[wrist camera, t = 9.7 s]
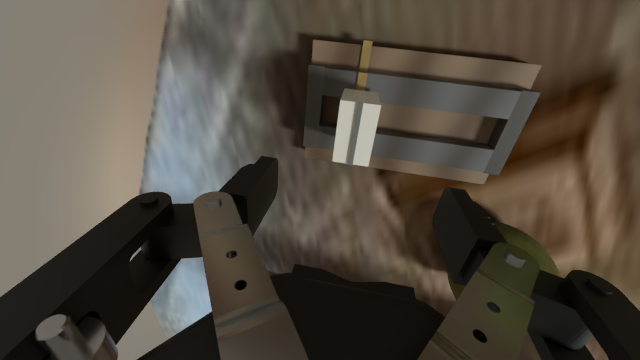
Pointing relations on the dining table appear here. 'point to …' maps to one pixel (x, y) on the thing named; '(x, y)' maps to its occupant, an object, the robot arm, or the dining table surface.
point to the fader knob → (356, 127)
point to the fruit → (521, 241)
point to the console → (422, 107)
